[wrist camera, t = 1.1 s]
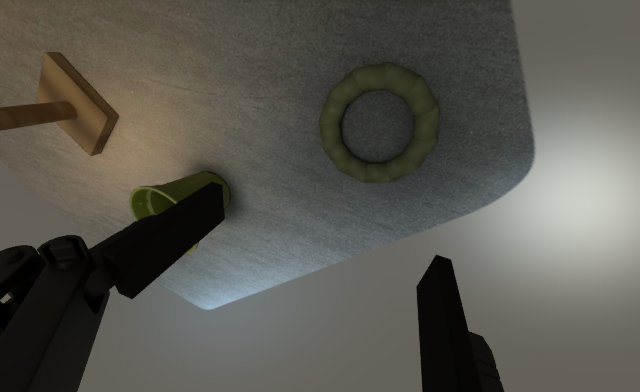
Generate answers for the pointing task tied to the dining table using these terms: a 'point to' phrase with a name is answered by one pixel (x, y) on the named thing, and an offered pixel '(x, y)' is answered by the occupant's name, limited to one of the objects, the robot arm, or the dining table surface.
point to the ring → (396, 83)
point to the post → (65, 106)
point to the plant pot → (171, 195)
